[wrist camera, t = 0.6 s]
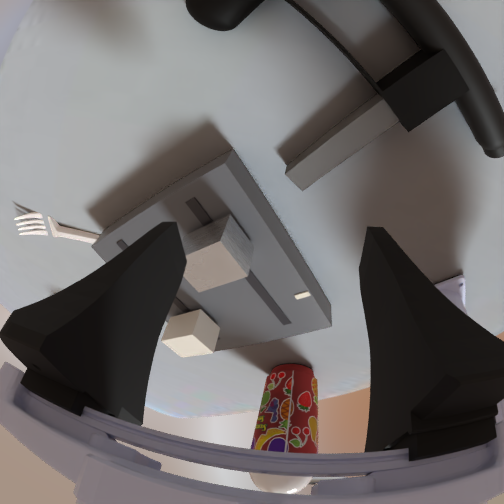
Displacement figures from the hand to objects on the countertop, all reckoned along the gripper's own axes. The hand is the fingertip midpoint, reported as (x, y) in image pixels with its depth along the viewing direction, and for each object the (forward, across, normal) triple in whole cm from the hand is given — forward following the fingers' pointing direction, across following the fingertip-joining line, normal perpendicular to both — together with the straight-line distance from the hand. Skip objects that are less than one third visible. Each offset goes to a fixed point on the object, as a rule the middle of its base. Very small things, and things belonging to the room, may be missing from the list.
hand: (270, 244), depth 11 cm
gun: (+10, -4, -6) cm, 13 cm away
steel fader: (+7, +4, +5) cm, 10 cm away
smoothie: (+10, -1, +29) cm, 31 cm away
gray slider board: (+10, +6, +11) cm, 16 cm away
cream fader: (+7, +8, +15) cm, 19 cm away
